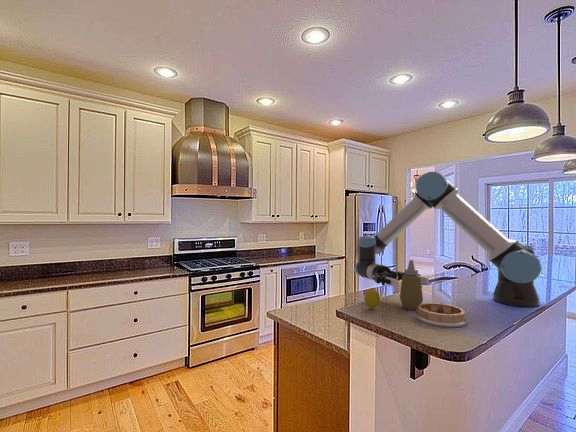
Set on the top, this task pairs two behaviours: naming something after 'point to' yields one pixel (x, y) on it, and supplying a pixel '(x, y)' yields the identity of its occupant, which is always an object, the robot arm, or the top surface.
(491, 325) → the top surface
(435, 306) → the flange seat
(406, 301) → the squeeze bottle
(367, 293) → the lemon
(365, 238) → the robot arm
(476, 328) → the top surface
